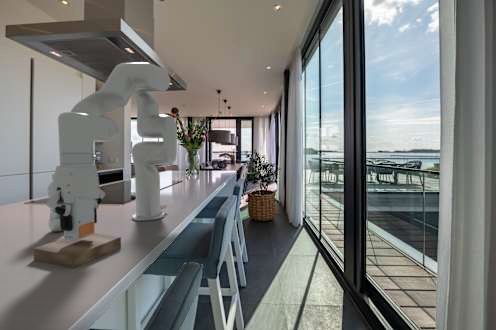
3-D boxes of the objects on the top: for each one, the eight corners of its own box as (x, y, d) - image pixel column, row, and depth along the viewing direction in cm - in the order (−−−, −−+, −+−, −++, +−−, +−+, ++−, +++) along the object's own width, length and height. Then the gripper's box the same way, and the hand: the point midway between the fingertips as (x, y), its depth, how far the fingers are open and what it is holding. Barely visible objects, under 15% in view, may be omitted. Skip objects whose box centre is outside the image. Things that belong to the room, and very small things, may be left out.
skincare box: (77, 241, 66) (75, 195, 65) (63, 240, 66) (61, 194, 66) (95, 233, 72) (94, 191, 71) (83, 232, 72) (81, 191, 72)
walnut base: (85, 241, 78) (84, 231, 78) (120, 247, 73) (120, 237, 73) (33, 259, 65) (33, 248, 65) (73, 268, 60) (72, 255, 60)
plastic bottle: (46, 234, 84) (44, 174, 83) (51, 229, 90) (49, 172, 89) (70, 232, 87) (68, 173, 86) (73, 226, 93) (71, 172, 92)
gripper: (95, 158, 77) (97, 217, 78) (31, 161, 61) (34, 234, 62) (114, 159, 75) (116, 219, 76) (52, 161, 58) (56, 238, 59)
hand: (79, 225), depth 69 cm, fingers closed on skincare box, 6 cm apart
